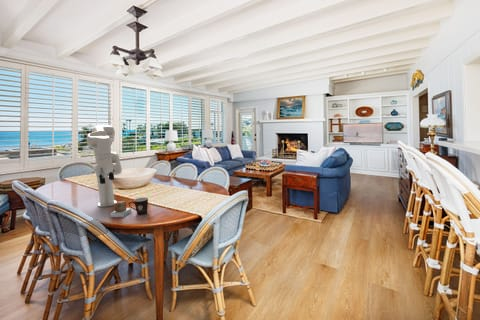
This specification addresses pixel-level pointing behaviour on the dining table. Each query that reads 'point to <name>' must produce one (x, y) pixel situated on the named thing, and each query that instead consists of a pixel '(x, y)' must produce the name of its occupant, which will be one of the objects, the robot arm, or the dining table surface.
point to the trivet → (120, 213)
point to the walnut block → (120, 206)
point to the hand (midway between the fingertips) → (107, 181)
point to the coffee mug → (141, 205)
